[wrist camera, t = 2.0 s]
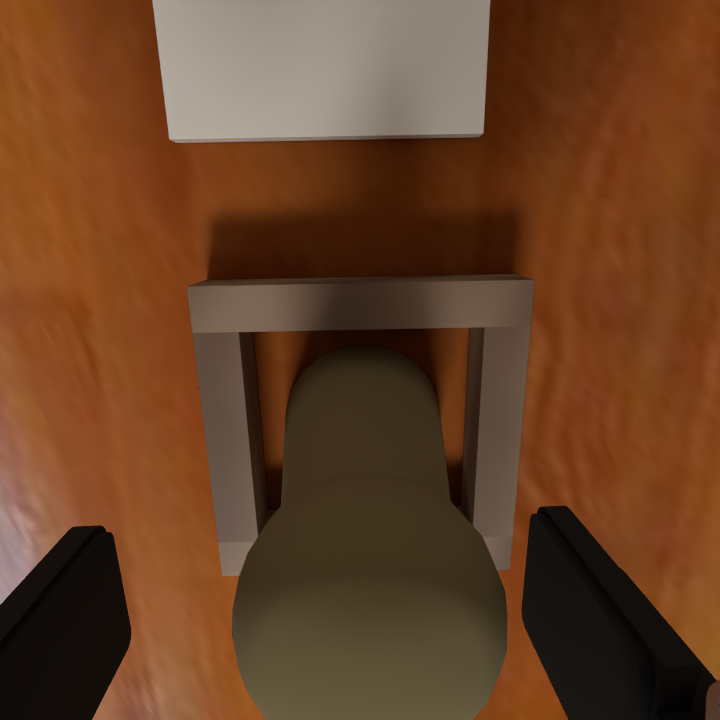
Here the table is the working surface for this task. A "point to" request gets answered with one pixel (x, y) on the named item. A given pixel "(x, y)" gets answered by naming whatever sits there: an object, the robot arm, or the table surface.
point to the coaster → (322, 69)
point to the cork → (367, 559)
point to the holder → (361, 312)
